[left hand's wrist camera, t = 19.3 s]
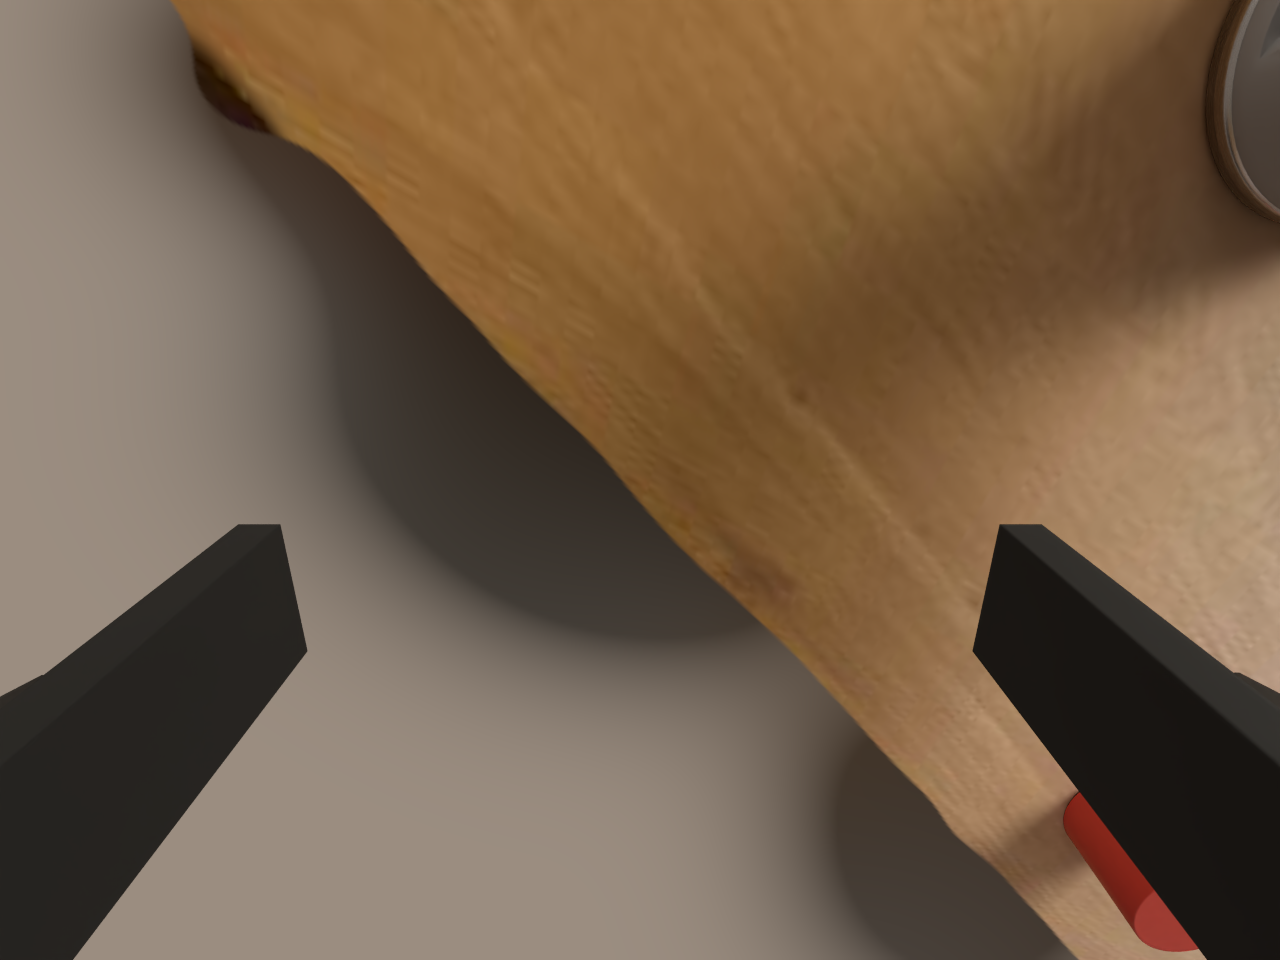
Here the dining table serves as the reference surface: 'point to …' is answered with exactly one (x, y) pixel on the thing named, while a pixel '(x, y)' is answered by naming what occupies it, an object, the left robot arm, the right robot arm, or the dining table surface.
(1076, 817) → the cylinder
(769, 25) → the dining table surface
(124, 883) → the left robot arm
